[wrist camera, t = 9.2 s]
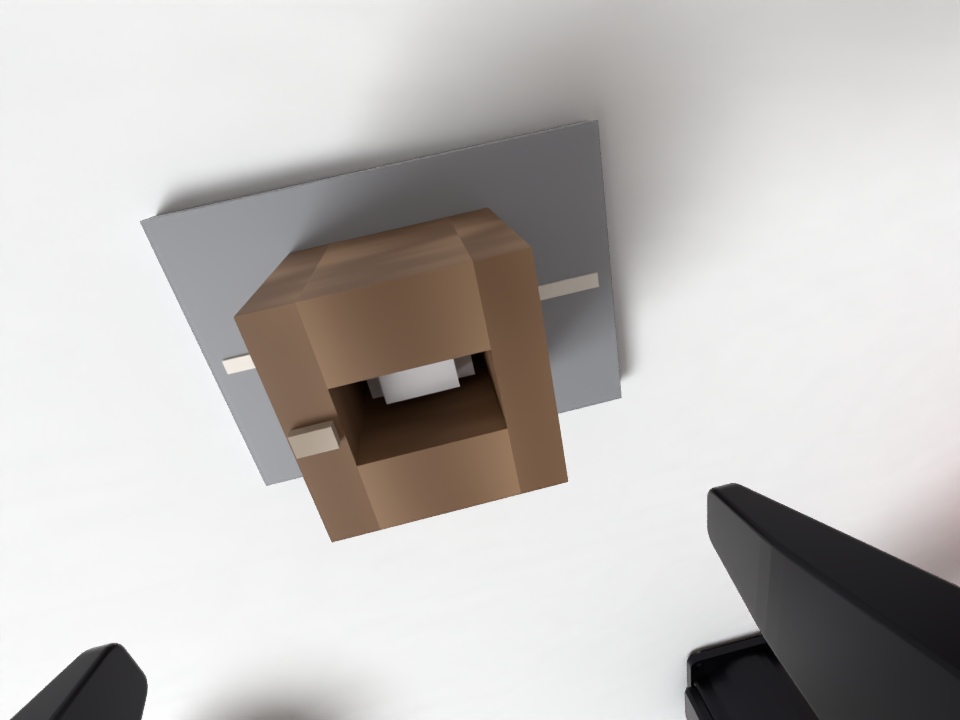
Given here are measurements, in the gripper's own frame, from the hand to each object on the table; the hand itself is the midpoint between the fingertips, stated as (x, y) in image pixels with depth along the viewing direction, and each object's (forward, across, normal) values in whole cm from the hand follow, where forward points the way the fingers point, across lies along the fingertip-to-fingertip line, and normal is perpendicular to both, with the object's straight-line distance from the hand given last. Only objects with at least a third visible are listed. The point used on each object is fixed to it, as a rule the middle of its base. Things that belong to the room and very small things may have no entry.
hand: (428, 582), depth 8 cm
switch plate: (+12, 0, 0) cm, 12 cm away
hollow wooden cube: (+11, 0, 0) cm, 11 cm away
